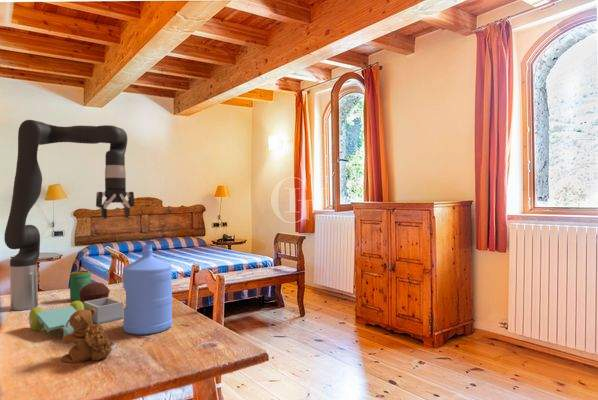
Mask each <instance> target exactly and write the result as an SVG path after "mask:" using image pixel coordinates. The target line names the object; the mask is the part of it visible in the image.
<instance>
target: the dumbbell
mask: <svg viewBox="0 0 598 400" xmlns="http://www.w3.org/2000/svg"><path fill="white" fill-rule="evenodd" d="M69 306H72V307H73V308H74V309H75V310H76V311H78V310H84V305H83V303H82V302H81V301H74V302H72V301H71V303H70V305H69ZM44 311H45V310H44V309H43V308H41V307H35V308H31V309H30V311H29V316H28V320H29V321H28V323H29V327H30V329H31V330H32V331H34V332H36V331H37V332H38V331H41V330H43V329H45V328H44V325H41V324H40V323H39V321H38V317H37V315H36V313H39V312H44Z"/></svg>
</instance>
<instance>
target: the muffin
mask: <svg viewBox="0 0 598 400" xmlns="http://www.w3.org/2000/svg"><path fill="white" fill-rule="evenodd" d="M110 292H111V290H110V289H109V287H108V286H107V285H106V284H104V283H102V282H98V281H95V282H91V283H89V284H87V285H86V286H84V287H83V288H82V289H81V291H80V292H79V295H80V301H81V302H82V303H83V305H84V302H85V301H90V300H96V299H101V298H106V297H109V295H110Z"/></svg>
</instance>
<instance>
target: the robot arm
mask: <svg viewBox="0 0 598 400" xmlns="http://www.w3.org/2000/svg"><path fill="white" fill-rule="evenodd" d="M57 143H74V144H88V145H89V144H90V145H91V144H92V145H94V144H99V143H101V144H109V150H108V151H106V152H105V168H104V188H105V190H104V191H103V192H102V191H97V192H96V196H95V198H96V200H95V201H96V202H95V207H96V208H99V209H100V211H101V217H102V218H103V219H107V218H108V209H107V208H108V206H110V204H111V203H113V204H114V203H116V204H117V203H120V204H121V205H122V206H123V207H124V210H123V211H124V212H123V213H124V216H123V217H124V218H129V217H130V214H131V212H130V211H131V208H132V207H135V195H134V194H135V193H134V191H128V192H127V191H126V189H127V184H126V183H127V181H126V180H127V177H126V176H127V174H126V173H127V172H126V161H125V160H126V157H125V154H126V152H127V151H126V150H127V148H128V147H127V145H128V135H127V132H126V131H125V130H124V129H123V128H120V127H118V126H116V125H97V126H96V125H70V126H58V125H52V124H49V123H45V122H42V121H40V120H39V121H38V120H33V119H26V120H24V121H23V122H21V123H20V125H19V128H18V131H17V159H16V167H15V168H16V169H15V175H14V180H13V181H14V183H13V187H12V188H13V189H12V197H11V198H12V199H11V205H10V211H9V215H8V218H7V223H6V226H5V230H4V243H5V245H6V246H7V248H8V249H10V250H18V253H17V254H16V255H15V256H13V257H12V258H10V260H9V278H10V279H9V281H10V282H9V284H10V288H9V289H10V295H9V296H10V299H9V300H10V310H11V311H26V310H31V309H32V308H38V305H39V296H38V295H39V293H38V292H39V291H38V288H39V287H38V284H39V283H38V259H39V257H40V252H41V251H40V249H41V248H40V247H41V234H40V231H39V229H38V227H37V226H35V225H32V224H27V223H26V222H27V219H28V216H29V213H30V211H31V209H32V208H33V207H34V205H35V204H36V202H37V201H38V199H39V198H40V196H41V194H42V193H41V192H42V184H43V174H42V170H41V168H40V165H39V162H38V150H39V145H40V146H42V145H50V144H57ZM104 197H105V200H104V201H103V198H104ZM126 198H128V199H126Z"/></svg>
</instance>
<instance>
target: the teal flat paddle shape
mask: <svg viewBox="0 0 598 400" xmlns="http://www.w3.org/2000/svg"><path fill="white" fill-rule="evenodd" d="M75 312H76V310H75V309H74V308H73V307H72V306H70V305H69V306H65V307H61V308H60V307H59V308H55V309H50V310H44V312H39V313H36V315H37V317H38V321H39V323H40V324H41V325H44V328H43V329H45V330H46V332H47V333H50V332H51V331H52V330H57V329H60V328H61V329H62V328H63V335H62V336H63V337H64V336H65V335H70V334H73V330H74V329H73V327H72V326H71V325H70V323H69V322H68V325H67V324H66V323H67V321H68V320H69V319H70V316H71V315H72V314H73V313H75ZM65 325H67V328H66V327H65Z"/></svg>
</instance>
